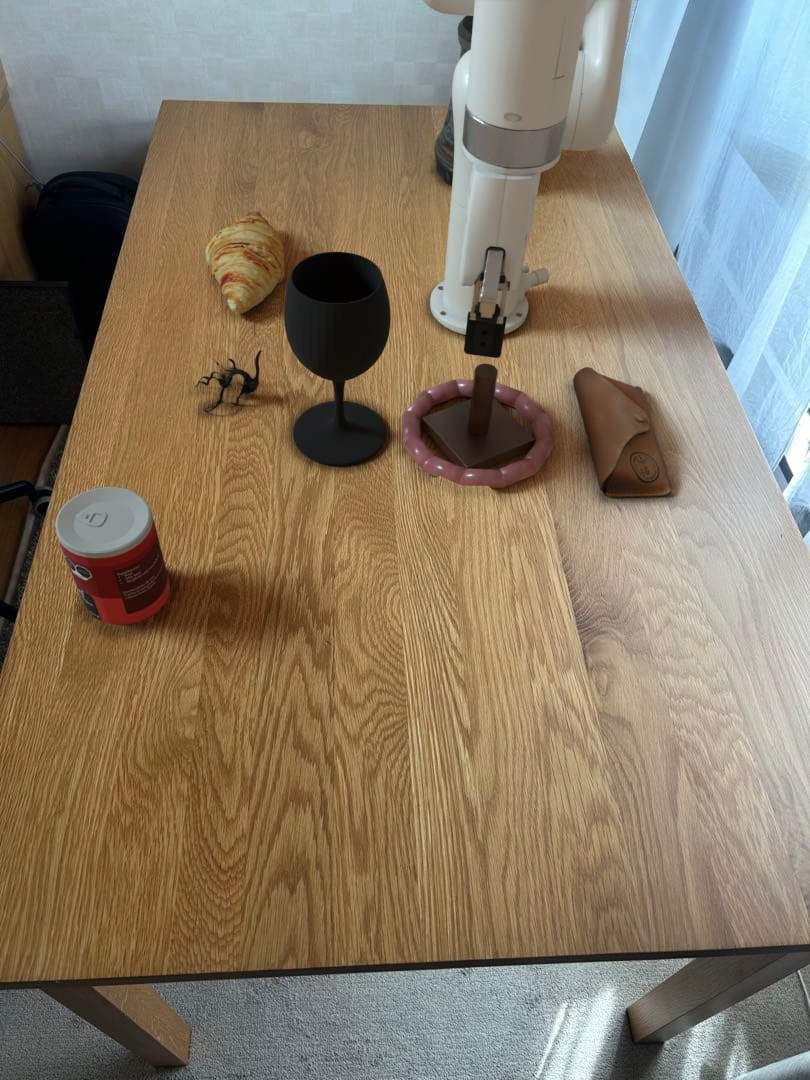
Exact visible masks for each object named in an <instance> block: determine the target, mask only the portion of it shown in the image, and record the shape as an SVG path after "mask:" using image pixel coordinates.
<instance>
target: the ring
mask: <svg viewBox="0 0 810 1080" xmlns="http://www.w3.org/2000/svg"><path fill="white" fill-rule="evenodd" d="M473 380H474V379H468V378H467V379H466V378H455V379H451V380H448V381H445V382H442V383H440V384H437V385H434V386H431V387H429V388H426V389H424V390H422V391H421V392H419V394H418V395H417V397H415V398H414V400H413V401H412V402H411V404H410V405H409V406H408V407H407V408H406V409H405V411H403V413H402V416H401V433H402V434H401V435H402V439H401V440H402V447H403V448H404V449H405V450H406V451H407V453H408V454H409V455H410V456H411V458H412V459H413V460H414V461H415V462H416V464H417V465H418V466H419V467H420V468H421V469H422V471H423V472H425V474H428V475H431V476H433V477H435V478H439V477H441V478H443V479H446V480H447V481H451V482H453V483H456V484H457V485H460V486H476V487H477V486H480V487H481V486H485V487H487V486H488V487H489V488H490V489H504V488H506V487H509V486H511V485H514V484H516V483H518V482H520V481H522V480H526V479H528V478H530V477H532V476H534V475H536V474H537V473H539V471H540V470H541V468H542V466H543V465H544V463H545V462H546V460H547V459H548V457H549V456H550V454H551V452H552V451H553V450H554V447H555V441H554V436H553V431H552V425H551V419H550V416H549V414H548V413H547V412H546V411H545V410H544V409H542V407H540V406H539V404H538V403H536V402H535V401H534V400H533V399H532V398H531V397H530V396H529V395H528V394H527V392H525V391H522V390H520V389H517V388H514V387H511V386H509V385H506V384H503V383H501V382H498V381H496V388H495V394H494V399H495V400H496V401H497V402H498V403H500V404H501V403H502V404H504V405H507V406H509V407H512V408H515V410H516V411H518V413H519V414H520V415H522V416H523V418H525V419H526V420H527V421H528V423H529V424H530V425H531V426H532V432H533V438H534V439H535V442H534V445H533V446H532V448H531V449H530V450H529V451H527V454H526V455H525V457H524V458H522V459H520V460H518V461H515V462H512V463H510V464H508V465H506V466H503V467H500V468H487V469H465V468H464V467H460V466H458V465H455V464H454V463H453V462H452V461H451V462H450V461H448V460H446V459H443V458H440V457H438V456H436V454H435V453H434V452H433V451H432V450H431V448H430V447H429V446H428V445H427V444H426V443H425V441H424V440H422V436H421V435H422V434H421V422H422V418H423V417H426V415H427V413H428V412H429V411H430V410H431V408H432V407H434V406H436V405H439V404H441V403H444V402H447V401H450V400H452V399H455V398H471V396H472V388H473Z"/></svg>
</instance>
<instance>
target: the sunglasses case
mask: <svg viewBox="0 0 810 1080" xmlns="http://www.w3.org/2000/svg"><path fill="white" fill-rule="evenodd" d="M572 383H573V389H574V393H575V396H576V400H577V403H578V407H579V411H580V415H581V419H582V422H583V426H584V430H585V434H586V438H587V442H588V446H589V450H590V454H591V458H592V462H593V467H594V473H595V477H596V479H597V484H598V487H599V489H600V491H601V492H602V493H603V495H604V496H605V497H607V498H619V499H621V498H625V499H626V498H627V499H635V498H652V497H653V498H654V497H655V498H656V497H664V496H668V495H670V494H671V493H672V492H673V491H672V484H671V481H670V480H671V479H670V476H669V474H668V470H667V468H666V464H665V461H664V458H663V455H662V453H661V450H660V449H661V448H660V445H659V443H658V440H657V437H656V433H655V430H654V426H653V423H652V420H651V417H650V414H649V413H650V412H649V410H648V406H647V401H646V398H645V393H644V390H643V389H642V388H643V387H641V386H633V385H631V384H628V383H625V382H623V381H620V380H617V379H615V378H612V377H609V376H607V375H604V374H601V373H599V372H597V371H596V370H595V369H593V368H592V367H590V366H585V367H582V368H580V369H579V370H578V371H577V372H576V373H575V374H574V375H573V379H572Z"/></svg>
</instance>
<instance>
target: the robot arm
mask: <svg viewBox="0 0 810 1080" xmlns="http://www.w3.org/2000/svg"><path fill="white" fill-rule="evenodd" d="M422 2H424V4H425V5H426V6H427V7H429V8H430V9H432V10H433V11H435V12H438V13H441V14H446V15H453V16H454V15H455V16H464V17H465V16H474V18H473V29H472V40H471V50H469V51H467V52H466V53H465V54H464V55H463V56H462V57H461V59H460V60H459V59H458V61H457V63H456V66H455V69H454V72H453V76H452V83H451V84H452V85H451V95H452V105H453V121H454V168H453V182H452V186H451V195H450V207H449V218H448V219H449V220H448V230H447V242H446V252H445V253H446V254H445V265H444V266H445V268H444V277H443V281H441V282H439V283H438V284H437V285H436V286H435V287H434V289H433V290H432V292H431V294H430V299H429V300H430V301H429V308H430V312H431V314H432V316H433V317H434V318H435V320H436V321H437V322H438V323H439V324H440V325H442V326H444V327H445V328H446V329H449V330H450V331H452V332H455V333H458V334H460V335H464V345H463V353H464V354H466V355H471V356H478V357H485V358H493V359H499V358H500V357H501V356H502V350H503V345H504V338H505V335H506V334H510V333H511V332H514V331H516V330H517V329H518V328H520V327H521V326H522V325H523V324H524V323H525V321H526V318H527V317H528V312H529V301H528V298H527V296H526V295H525V294H526V293H527V292H530V291H531V288H532V287H538V286H541V285H543V284H547V283H548V282H549V281H550V273H549V271H548V270H547V268H546V267H541V268H538V269H535V270H532V271H530V266H529V265H528V263H526V262H524V261H525V255H526V251H527V246H528V244H529V243H528V242H529V239H530V234H531V228H532V225H533V220H534V214H535V210H536V204H537V200H538V193H539V187H540V182H541V175H542V173H543V172H546V171H548V170H549V169H552V168H553V167H554V166H556V165H557V164H558V162H559V161H560V158H561V155H562V150H565V151H583V152H584V151H586V152H587V151H592V150H593V151H594V150H596V149H599V148H600V147H602V146H603V145H604V144H605V143H606V142H607V140H608V139H609V137H610V135H611V133H612V130H613V128H614V124H615V120H616V116H617V110H618V105H619V99H620V98H619V96H620V91H621V84H622V83H621V82H622V76H623V69H624V63H625V62H624V60H625V54H626V45H627V40H628V32H629V25H630V24H629V23H630V18H631V17H630V16H631V12H632V11H631V9H632V3H633V0H422Z"/></svg>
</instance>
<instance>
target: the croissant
mask: <svg viewBox="0 0 810 1080" xmlns="http://www.w3.org/2000/svg"><path fill="white" fill-rule="evenodd" d="M204 250H205V251H204V255H205V256H204V257H205V259H206V264H207V265H208V266H209V267H210V269H211V270H210V271H211V276H212V278H213V279H214V280H215V281H217V283H218V284H219V286H220V291H221V293H222V296H224V297H225V298H226V300H227V306H228V307H229V309H230V311H231V313H234V314H235V315H236V314H237V315H238V314H239V315H241V314H243V313H247V312H249V311H250V310H251V309H252V308H254V307H255V306H256V307H257V305H259V304H261V302H263V301H264V299H265V298H266V297H268V296H269V295H270V294H271V293H272V292H273V291H274V289H275V288H276V286H277V285H278V284H280V283H281V282H283V280H284V277H285V254H284V245H283V242H282V239H281V237H280V234H279V232H278V231H277V229H275V228H274V227H273V226H272V224H270V223H269V222H268V220H267V219H266V218H265V217H264V216H262V214H261V213H260V212H259V211H249V212H248V213H247V214H246V215H245V216H244V217H242V218H241V219H240V220H239V221H237V222H233V223H231V224H228V225H227V226H225V227H224V228H222V229H220V230H219V231H218V232H217V234H215V235H213V237H212V238H211V240H210V241H209V243H208V244H207V245H206V247H205V249H204Z"/></svg>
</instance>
